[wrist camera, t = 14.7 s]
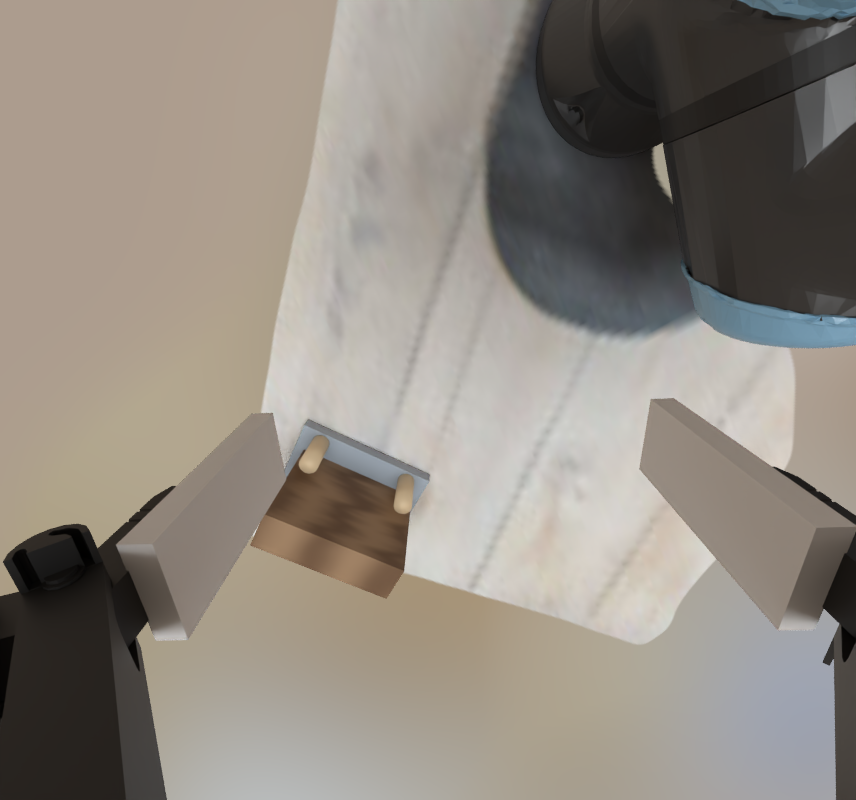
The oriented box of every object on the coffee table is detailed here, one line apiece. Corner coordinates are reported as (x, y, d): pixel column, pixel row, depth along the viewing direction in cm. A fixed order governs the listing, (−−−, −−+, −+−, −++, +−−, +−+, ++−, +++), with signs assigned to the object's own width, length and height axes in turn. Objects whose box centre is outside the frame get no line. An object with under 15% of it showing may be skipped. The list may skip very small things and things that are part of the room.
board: (411, 496, 50) (404, 570, 39) (397, 520, 52) (386, 598, 41) (303, 449, 48) (263, 514, 37) (292, 475, 50) (250, 545, 38)
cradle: (429, 474, 51) (428, 506, 45) (394, 532, 54) (389, 569, 48) (308, 419, 48) (290, 446, 42) (279, 483, 52) (259, 516, 46)
